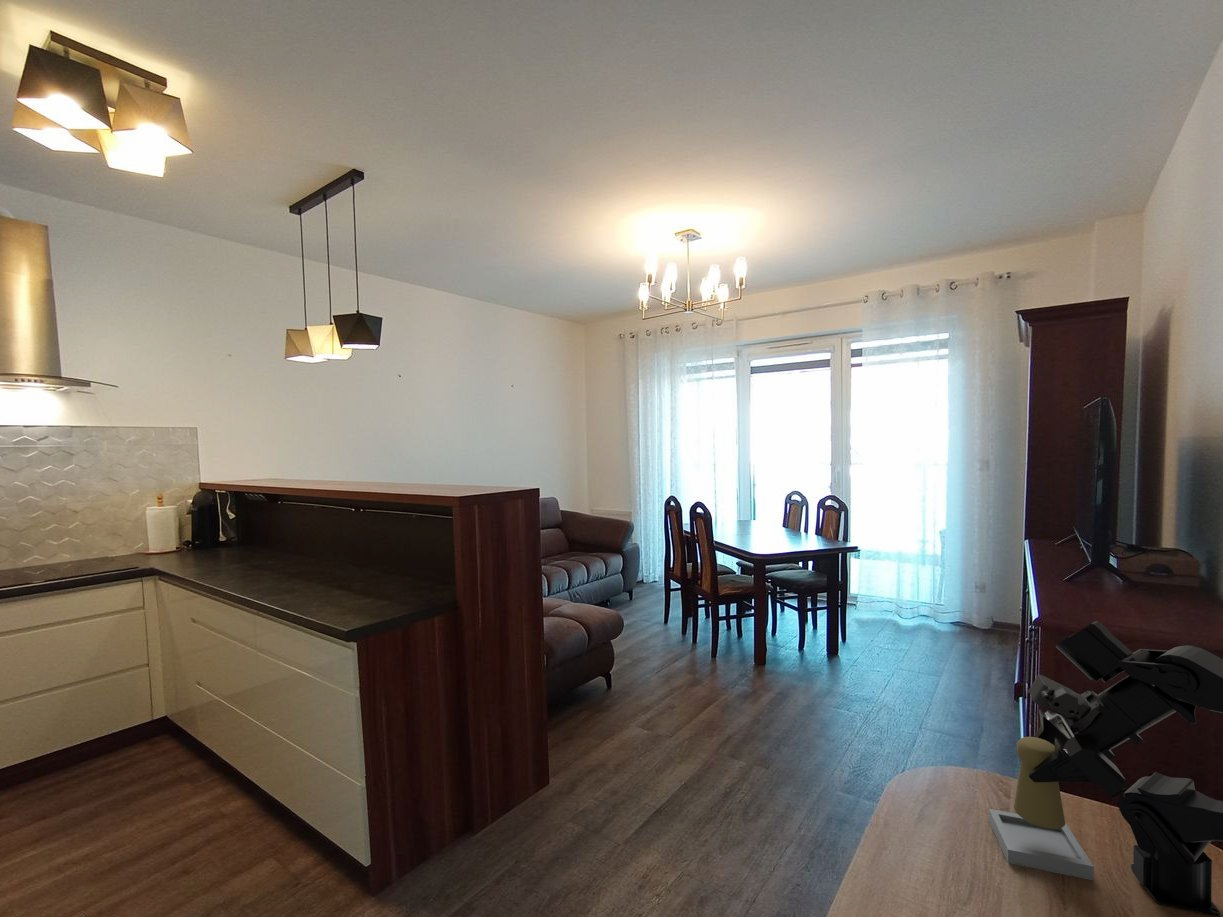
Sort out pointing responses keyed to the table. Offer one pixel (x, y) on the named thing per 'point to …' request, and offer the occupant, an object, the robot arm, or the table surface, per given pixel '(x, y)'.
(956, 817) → the table surface
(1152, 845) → the robot arm
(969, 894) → the table surface
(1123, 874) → the table surface
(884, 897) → the table surface
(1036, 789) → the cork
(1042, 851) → the gray tray
